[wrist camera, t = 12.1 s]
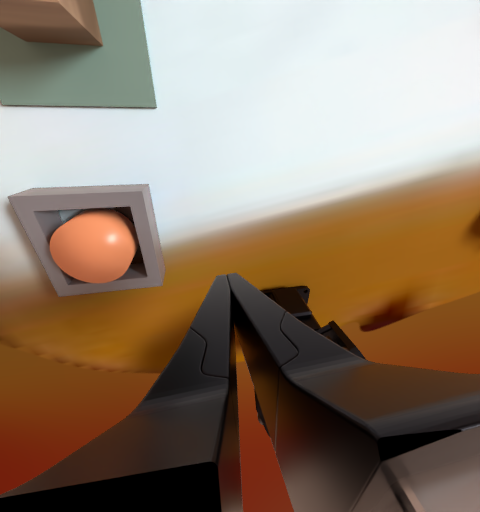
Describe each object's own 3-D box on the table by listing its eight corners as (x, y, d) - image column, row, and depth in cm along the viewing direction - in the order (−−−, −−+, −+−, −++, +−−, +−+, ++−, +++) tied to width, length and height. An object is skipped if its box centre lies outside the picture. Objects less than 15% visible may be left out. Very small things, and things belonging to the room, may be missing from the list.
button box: (165, 270, 21) (162, 285, 19) (73, 279, 20) (58, 296, 18) (148, 184, 17) (142, 191, 15) (32, 188, 16) (7, 196, 14)
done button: (144, 260, 20) (137, 279, 17) (83, 265, 19) (66, 286, 16) (131, 205, 17) (120, 218, 15) (60, 209, 16) (35, 222, 14)
